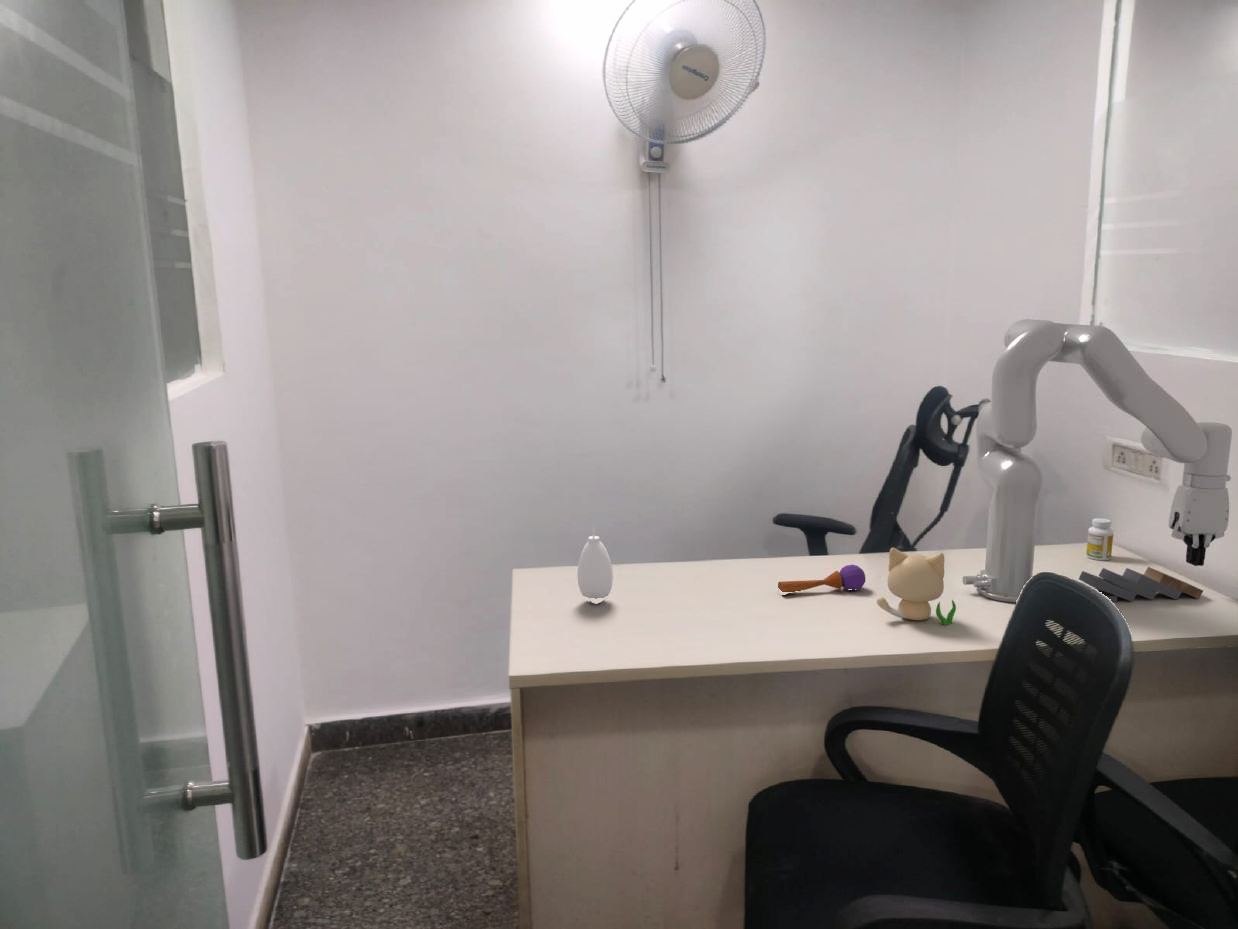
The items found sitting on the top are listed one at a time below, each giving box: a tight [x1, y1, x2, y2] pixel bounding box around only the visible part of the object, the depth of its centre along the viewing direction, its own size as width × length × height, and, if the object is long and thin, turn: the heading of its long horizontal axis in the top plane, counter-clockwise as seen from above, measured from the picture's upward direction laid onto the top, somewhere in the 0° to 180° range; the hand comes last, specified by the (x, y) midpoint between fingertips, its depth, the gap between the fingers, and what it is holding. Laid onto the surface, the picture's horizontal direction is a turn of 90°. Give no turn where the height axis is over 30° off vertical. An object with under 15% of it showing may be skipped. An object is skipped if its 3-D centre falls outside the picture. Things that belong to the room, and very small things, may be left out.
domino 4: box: [1122, 567, 1182, 601], centre depth 177 cm, size 2×5×10 cm
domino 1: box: [1078, 570, 1137, 602], centre depth 177 cm, size 2×5×10 cm
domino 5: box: [1143, 566, 1204, 600], centre depth 178 cm, size 2×5×10 cm
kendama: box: [777, 564, 866, 593], centre depth 187 cm, size 6×6×20 cm
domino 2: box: [1093, 587, 1118, 603], centre depth 178 cm, size 2×5×10 cm
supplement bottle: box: [1086, 517, 1114, 562], centre depth 204 cm, size 5×5×10 cm
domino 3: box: [1098, 567, 1158, 600], centre depth 177 cm, size 2×5×10 cm
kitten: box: [876, 547, 957, 626], centre depth 169 cm, size 15×10×15 cm
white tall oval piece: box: [577, 525, 614, 599], centre depth 182 cm, size 8×8×18 cm
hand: (1194, 563), depth 177 cm, fingers closed
